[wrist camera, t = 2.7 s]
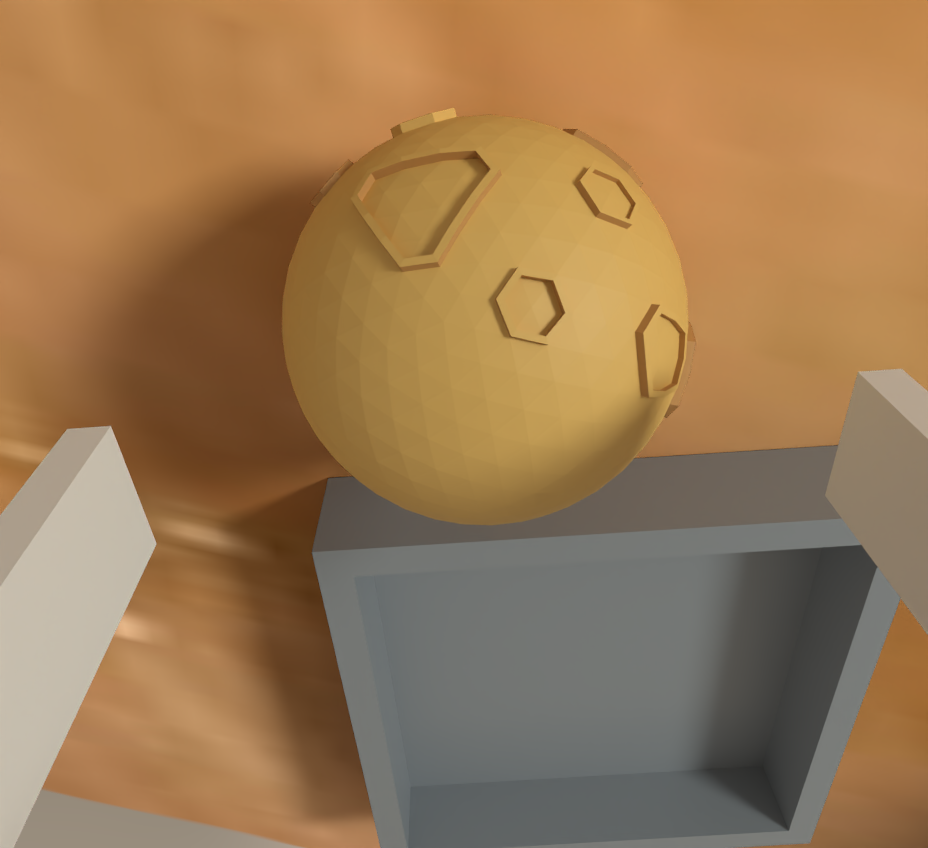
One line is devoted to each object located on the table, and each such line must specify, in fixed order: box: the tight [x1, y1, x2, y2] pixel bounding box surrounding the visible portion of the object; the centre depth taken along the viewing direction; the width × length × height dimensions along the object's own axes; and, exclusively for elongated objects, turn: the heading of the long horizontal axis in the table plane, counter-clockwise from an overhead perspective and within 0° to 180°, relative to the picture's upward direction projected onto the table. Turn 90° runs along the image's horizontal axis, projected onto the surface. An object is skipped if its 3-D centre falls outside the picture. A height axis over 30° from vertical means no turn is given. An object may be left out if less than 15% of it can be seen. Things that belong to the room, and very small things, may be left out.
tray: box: [312, 445, 900, 848], centre depth 30 cm, size 20×20×4 cm
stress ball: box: [282, 108, 696, 525], centre depth 18 cm, size 10×10×10 cm
